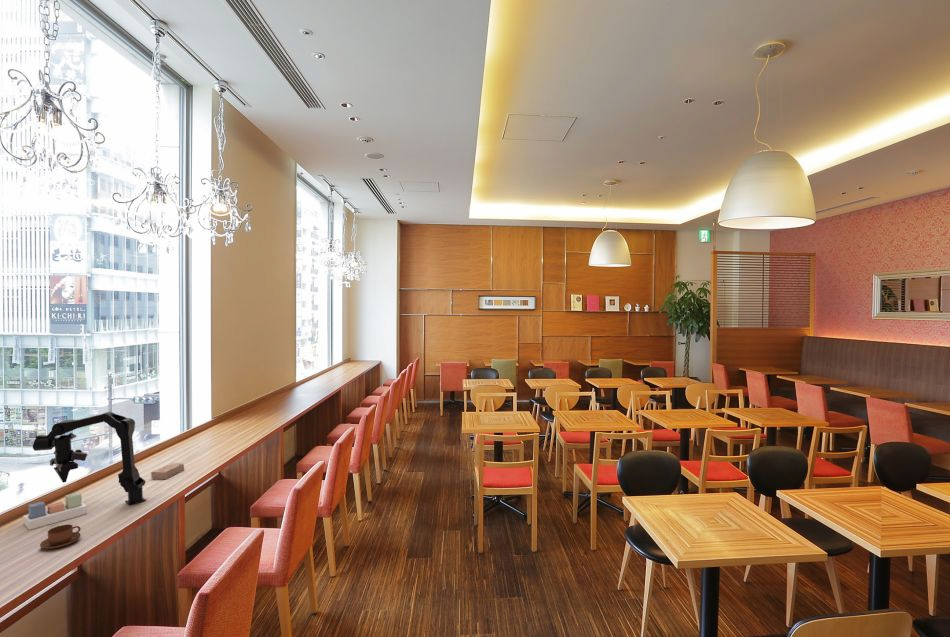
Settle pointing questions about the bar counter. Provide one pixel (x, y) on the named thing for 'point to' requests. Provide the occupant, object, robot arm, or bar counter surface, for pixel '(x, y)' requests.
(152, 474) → the brick
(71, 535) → the cup and saucer
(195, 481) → the bar counter surface
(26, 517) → the socket board
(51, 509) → the block terracotta
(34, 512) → the blue block
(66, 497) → the block sage
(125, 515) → the bar counter surface
